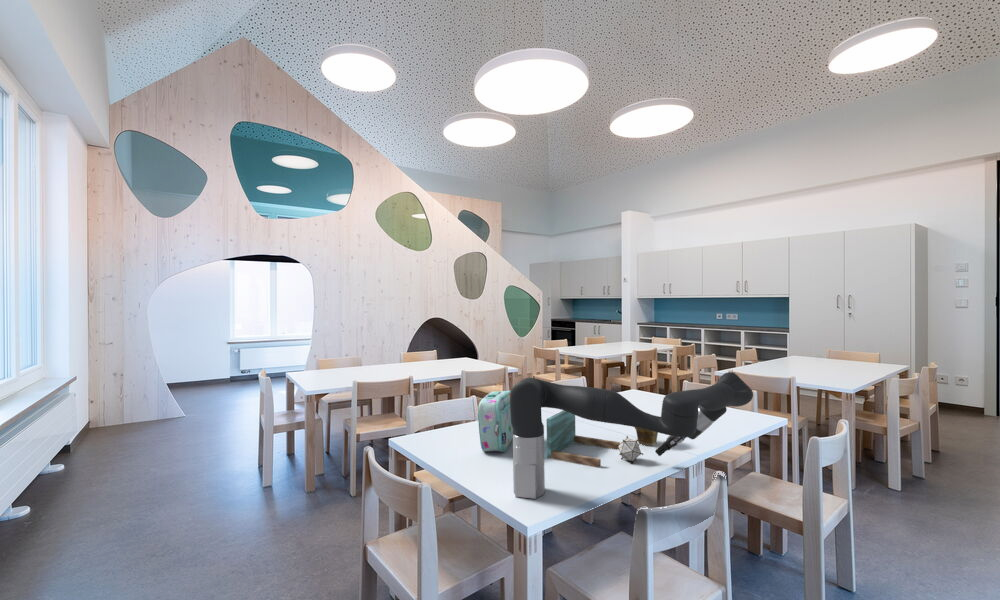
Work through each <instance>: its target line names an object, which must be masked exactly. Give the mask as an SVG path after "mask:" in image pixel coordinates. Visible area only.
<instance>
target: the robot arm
mask: <svg viewBox="0 0 1000 600" xmlns="http://www.w3.org/2000/svg"><path fill="white" fill-rule="evenodd" d="M510 391H511V393H510V416H511V425H512V428H513V438H512V465H513V467H512V471H513V472H512V474H513V477H512V478H513V479H512V480H513V493H514V494H515V495H514V496H515V497H516V498H523V499H524V498H525V499H533V500H537V499H538V498H540V497H542V496H543V495H545V492H546V490H545V487H546V485H545V484H546V483H545V481H546V479H545V478H546V477H545V425H544V423H543V419H542V408H547V409H548V408H550V409H557V410H561V411H563V410H564V411H567V412H569V413H572V414H574V415H575V417H576V416H577V417H579V418H581V419H584V420H588V421H593V422H599V423H605V424H612V425H613V424H614V425H619V426H621V425H622V426H626V427H632V428H635V427H637V428H642V429H646V430H650V431H654V432H658V433H659V434H663V435H666V436H667V435H668V437H666V440H665V441H663V442H662V444H660V446H658V448H656V449H655V454H657V456H659V457H661V456H662V455H664V454H665V453H666V452H668V451H670V450H672V449H673V448H676V446H678V445H679V444H681V443H683V442H684V441H685V439H686V438H687V439H688V438H689V439H690V440H695V439H696V438H698V437H699V436H700V435H702V434H703V433H704V432H705V431H706V430H708V429H709V428H710V427H711V426H712V425H713V423H715V422H716V421H718V420H719V419H720V418H721V417H722V416H723V415H725V414H726V412H727V407H732V408H733V407H734V408H735V407H742V406H746V405H747V404H749V403H750V402H751V401H752V400H753V397H754V391H753V390H752V388H751V387H750V386H749V385H748V384H747V383H746V382H745V381H743V379H741V377H740V376H738V374H736V373H735V372H732V371H728V372H725V373H723V374H722V375H721V376H720V377H719V378H718V379H717V381H716V383H715V384H713V385H709V386H707V387H704V388H696V389H688V390H687V389H686V390H680V391H679V390H678V391H674V392H671V393H668V394H666V395H665V396H664V397H663V399H662V403H661V411H660V413H661V414H660V416H658V415H654V414H651V413H648V412H645V411H643V410H641V409H640V408H638V407H637V406H635V405H634V403H632V402H631V401H629V400H628V399H627V398H625V396H623V395H622V394H620V393H619V392H617V391H615V390H610V389H608V388H607V389H606V388H599V387H589V386H579V385H566V384H558V383H555V382H550V381H547V380H542V379H539V378H534V377H525V378H523V379H521V380H519V381H518V382H516V383H515V384H514V385H513V387H512V388H511V390H510Z"/></svg>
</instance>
